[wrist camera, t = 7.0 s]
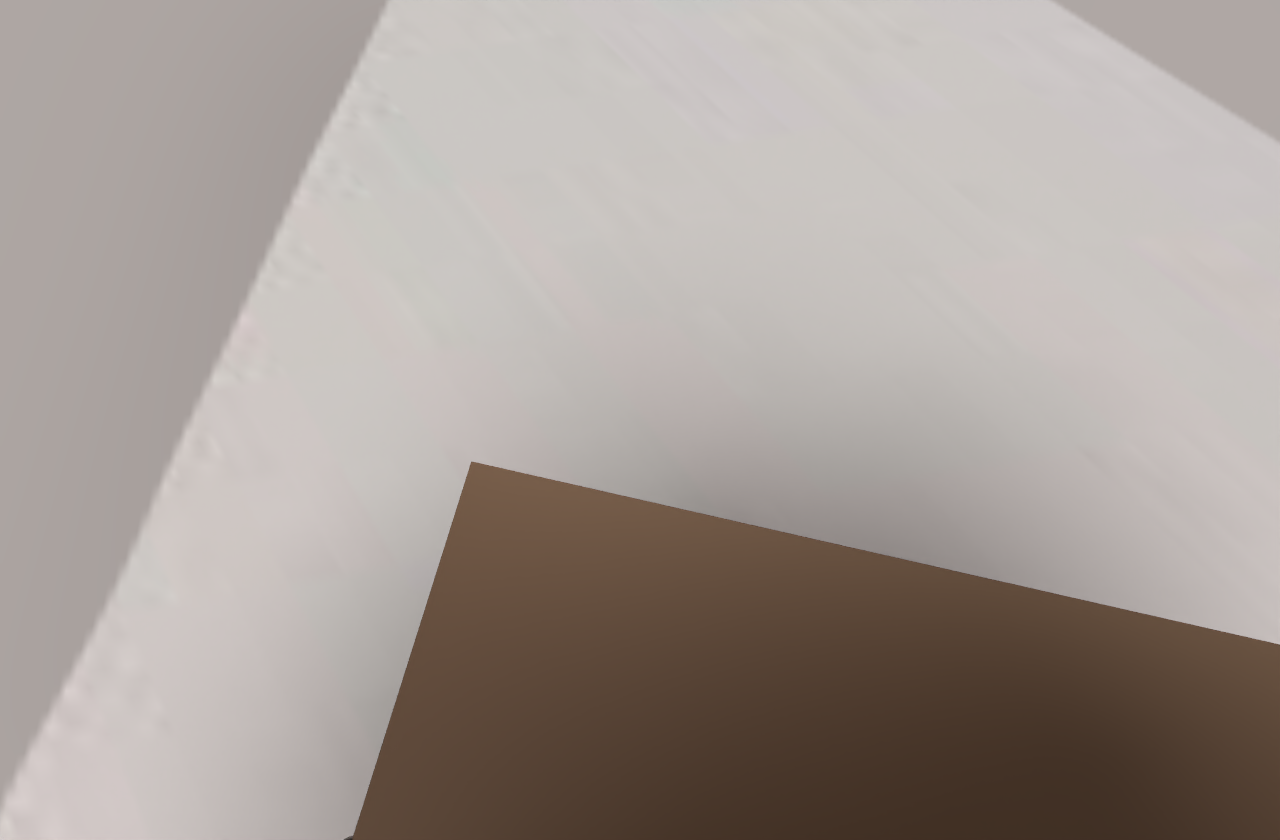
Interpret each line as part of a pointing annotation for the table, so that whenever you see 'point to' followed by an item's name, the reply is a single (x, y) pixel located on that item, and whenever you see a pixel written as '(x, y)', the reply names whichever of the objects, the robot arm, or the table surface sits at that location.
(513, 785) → the walnut block
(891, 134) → the table surface
